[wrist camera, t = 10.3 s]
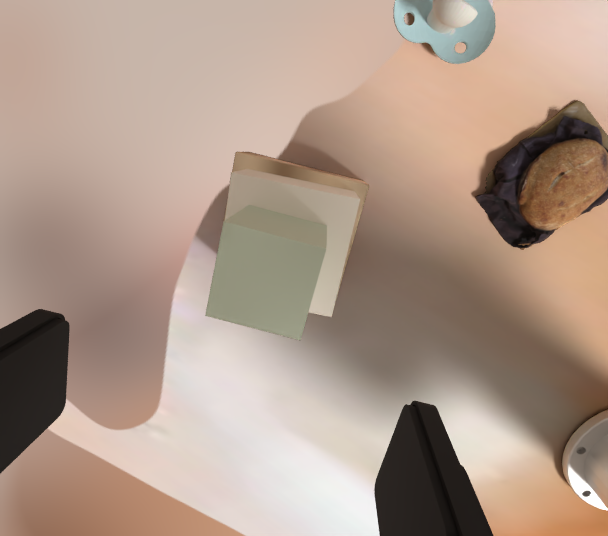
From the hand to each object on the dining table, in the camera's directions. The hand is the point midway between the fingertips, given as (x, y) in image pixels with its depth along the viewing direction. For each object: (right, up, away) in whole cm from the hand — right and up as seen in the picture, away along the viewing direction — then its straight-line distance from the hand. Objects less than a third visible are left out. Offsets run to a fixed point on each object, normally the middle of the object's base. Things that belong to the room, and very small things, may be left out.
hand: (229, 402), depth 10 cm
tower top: (+1, +6, +19) cm, 20 cm away
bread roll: (+22, +11, +21) cm, 33 cm away
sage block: (0, +5, +14) cm, 15 cm away
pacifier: (+12, +23, +18) cm, 32 cm away
